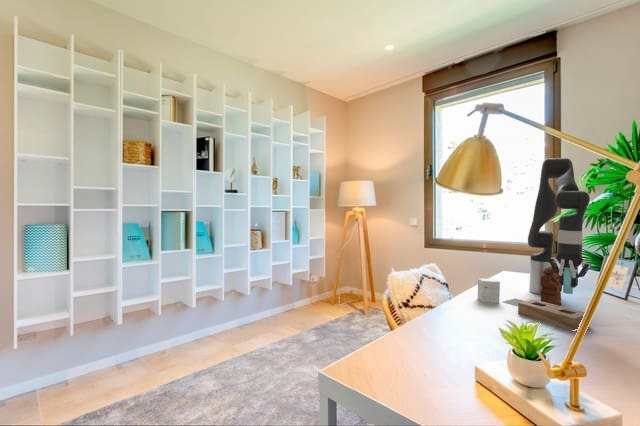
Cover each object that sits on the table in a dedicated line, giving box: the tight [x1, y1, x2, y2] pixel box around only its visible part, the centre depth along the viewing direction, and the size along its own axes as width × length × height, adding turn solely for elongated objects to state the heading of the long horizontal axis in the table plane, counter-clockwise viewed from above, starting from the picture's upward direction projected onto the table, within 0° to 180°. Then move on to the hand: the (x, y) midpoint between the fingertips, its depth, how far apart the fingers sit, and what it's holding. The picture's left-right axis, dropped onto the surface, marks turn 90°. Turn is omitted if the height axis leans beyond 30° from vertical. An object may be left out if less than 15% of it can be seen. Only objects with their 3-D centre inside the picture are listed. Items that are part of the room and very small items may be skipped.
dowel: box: [562, 267, 574, 295], centre depth 122 cm, size 3×3×10 cm
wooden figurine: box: [540, 267, 563, 306], centre depth 146 cm, size 12×6×18 cm, turn 125°
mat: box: [502, 298, 525, 308], centre depth 147 cm, size 12×12×1 cm
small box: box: [477, 278, 501, 304], centre depth 150 cm, size 8×6×10 cm
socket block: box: [517, 298, 585, 332], centre depth 127 cm, size 12×20×5 cm, turn 30°
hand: (568, 286), depth 122 cm, fingers closed on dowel, 3 cm apart
